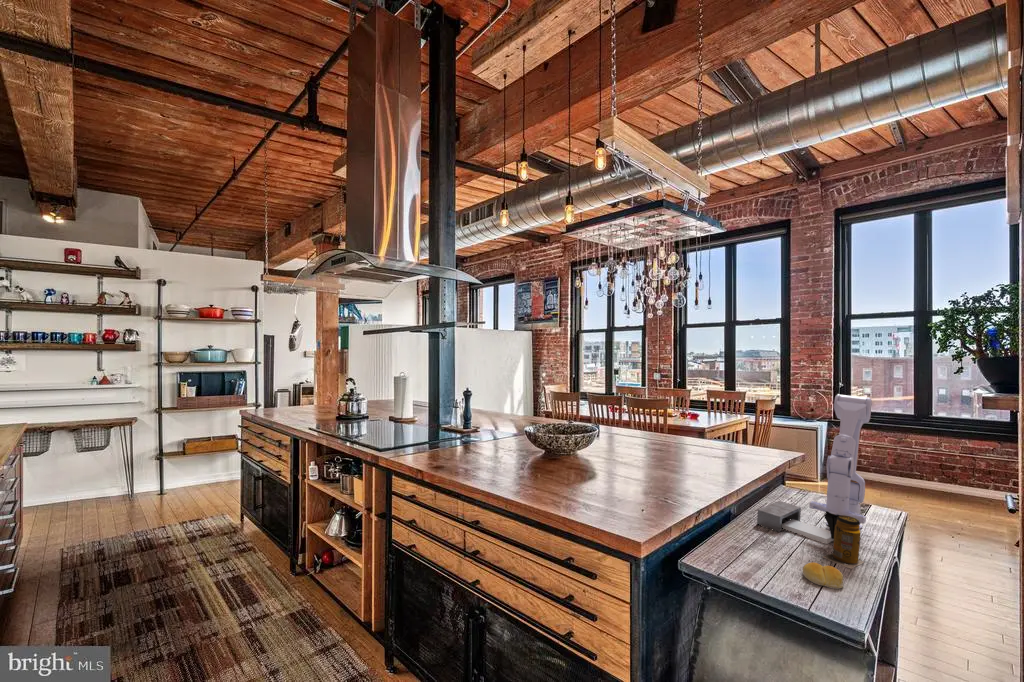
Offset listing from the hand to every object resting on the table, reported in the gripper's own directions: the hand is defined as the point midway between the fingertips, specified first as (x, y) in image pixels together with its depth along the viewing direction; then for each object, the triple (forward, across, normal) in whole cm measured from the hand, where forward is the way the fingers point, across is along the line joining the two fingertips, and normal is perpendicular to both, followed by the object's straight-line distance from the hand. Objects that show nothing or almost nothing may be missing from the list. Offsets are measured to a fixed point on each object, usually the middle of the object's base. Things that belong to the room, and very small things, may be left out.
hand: (834, 538), depth 148 cm
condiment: (+1, +6, -12) cm, 13 cm away
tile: (+2, -7, 0) cm, 7 cm away
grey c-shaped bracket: (+1, -16, 0) cm, 16 cm away
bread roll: (+2, +7, -30) cm, 31 cm away
